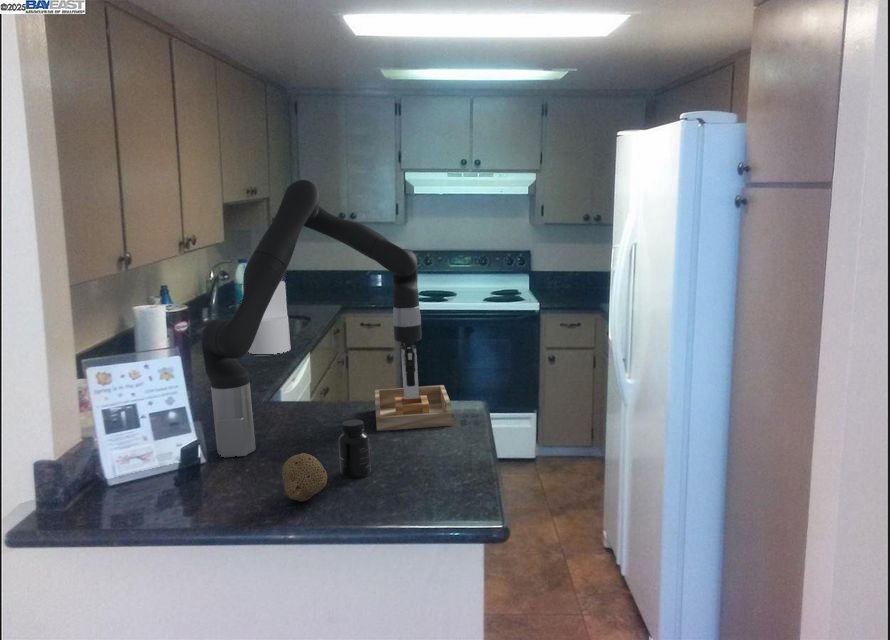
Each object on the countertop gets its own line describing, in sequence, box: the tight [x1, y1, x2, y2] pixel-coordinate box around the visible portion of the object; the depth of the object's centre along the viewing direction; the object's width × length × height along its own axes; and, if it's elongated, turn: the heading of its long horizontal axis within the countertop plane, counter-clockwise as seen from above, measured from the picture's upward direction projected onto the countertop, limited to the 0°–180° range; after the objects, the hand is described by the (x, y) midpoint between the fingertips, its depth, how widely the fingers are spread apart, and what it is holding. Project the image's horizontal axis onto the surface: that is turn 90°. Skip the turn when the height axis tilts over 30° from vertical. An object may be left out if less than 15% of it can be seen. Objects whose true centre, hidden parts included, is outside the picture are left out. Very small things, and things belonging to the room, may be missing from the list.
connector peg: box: [401, 352, 419, 399], centre depth 208 cm, size 4×4×12 cm
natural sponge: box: [281, 452, 328, 502], centre depth 155 cm, size 9×9×10 cm
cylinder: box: [241, 280, 292, 355], centre depth 309 cm, size 17×17×28 cm
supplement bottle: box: [338, 419, 372, 480], centre depth 168 cm, size 7×7×12 cm
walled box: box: [374, 384, 453, 432], centre depth 209 cm, size 20×20×6 cm
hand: (410, 383), depth 208 cm, fingers closed on connector peg, 4 cm apart
